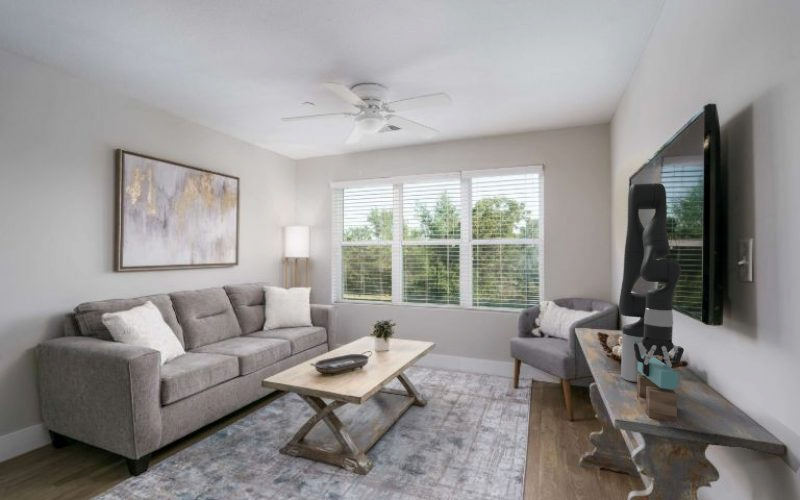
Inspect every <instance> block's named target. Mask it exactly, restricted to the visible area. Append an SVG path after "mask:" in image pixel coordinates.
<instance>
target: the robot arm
mask: <svg viewBox="0 0 800 500" xmlns="http://www.w3.org/2000/svg"><path fill="white" fill-rule="evenodd" d="M640 210H654V215H653V216H652V218H651V219H650V221H649V222H648V223H647V225H646V226H645V227H644V225H643V223H642V222H641V218H640V214H639V213H640ZM667 217H668V214H667V191H666V188H665V186H664V184H663V183H659V182H654V183H652V182H651V183H633V184H631V185H630V187H629V190H628V196H627V225H626V226H627V228H626V229H627V230H626V236H625V246H624V254H623V255H624V256H623V274H622V282H621V288H620V294H619V302H618V310H619V311H618V312H619V314H620V315H621V316H624V317H628V318H629V317H630V318H631V317H632V318H639V320H637V321H635V322H633V323H629V324H625V325H623V327H622V331H621V332H622V334H621V335H622V337H621V361H620V362H621V365H620V378H621V379H623V380H625V381H628V382H633V383H637V374H642V373H640V372H639V371H638V370H637V369H638V362H641V363H643V368H642V372H643V374H645V376H647V377H648V376H649V365H648V363H649V361H650V359H651V358H652V357H654V356H659V357H662V359H663V361H664V362H663V363H664V364H666V365H667V366H669V367H671V368H672V369H673V367H678V366H680V362H681V359H682V357H683V354H684V352H685V349H684V348H683V347H682V346H681V345H675V344H674V343H673V327H674V326H673V325H674V316H673V315H674V314H673V301H674V300H673V298H674V294H675V290H676V287H677V285H678V282H679V280H680V277H681V274H682V269H681V265H680V264H679V262H678V261H676V260H672V259H671V260H670V259H664V258H667V257H668V256H669V255H670V251H671V247H670V242H669V237H668V232H667V231H668V229H667ZM640 278H642V279H643V280H644V281H645V282H649V283H664V284H663V285H662V287H659V288H655V289H648V290H647V291H646V293H642V292H641V293H640V292H639V293H637V292H632V291H633V288H634V286H635V284H636V283H637V281H638V280H639V279H640ZM672 350H673V352H674V355H673V357H672V360H671V359H670V355H669V353H670V352H671V351H672ZM641 356H644V357H643V358H641Z"/></svg>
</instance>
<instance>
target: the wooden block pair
mask: <svg viewBox="0 0 800 500" xmlns="http://www.w3.org/2000/svg"><path fill="white" fill-rule="evenodd" d="M636 398H637V400H638V402H639V403H640V405H641V407H642V408H643V411H644V412H645V413H646V415H647V416H648V418H653V419H657V420H658V419H659V420H664V419H665V421H670V420H672V422H677V420H678V419H677V418H678V417H677V415H678V393H677V392H676V391H675V389H666V388H660V387H659V386H657V385H656V384H655V383H653V382H652V381H651V380H650V379H648V378H647V377H646V376H644V375H643V374H637V382H636Z"/></svg>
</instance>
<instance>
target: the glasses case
mask: <svg viewBox="0 0 800 500" xmlns="http://www.w3.org/2000/svg"><path fill="white" fill-rule="evenodd" d="M643 357H644V356H641V358H643ZM648 365H649V376H648V377H647V376H646V377H647V378H648V379H650V380H651V381H652V382H653V383H655V384H656V385H657V386H659V387H660V388H665V389H672V390H679V371H677V370H676V369H673V367H672V368H671V367H669V366H667V365H666V364H665V362H662V361H661V360H660V359H658V358H656V357H654V356H652V358H651V359H650V361H649V363H648ZM642 368H643V363H641V362H638V369H637V370H638V371H639V372H640V373H642V374H643V372H642ZM643 375H644V376H645V374H643Z"/></svg>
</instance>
